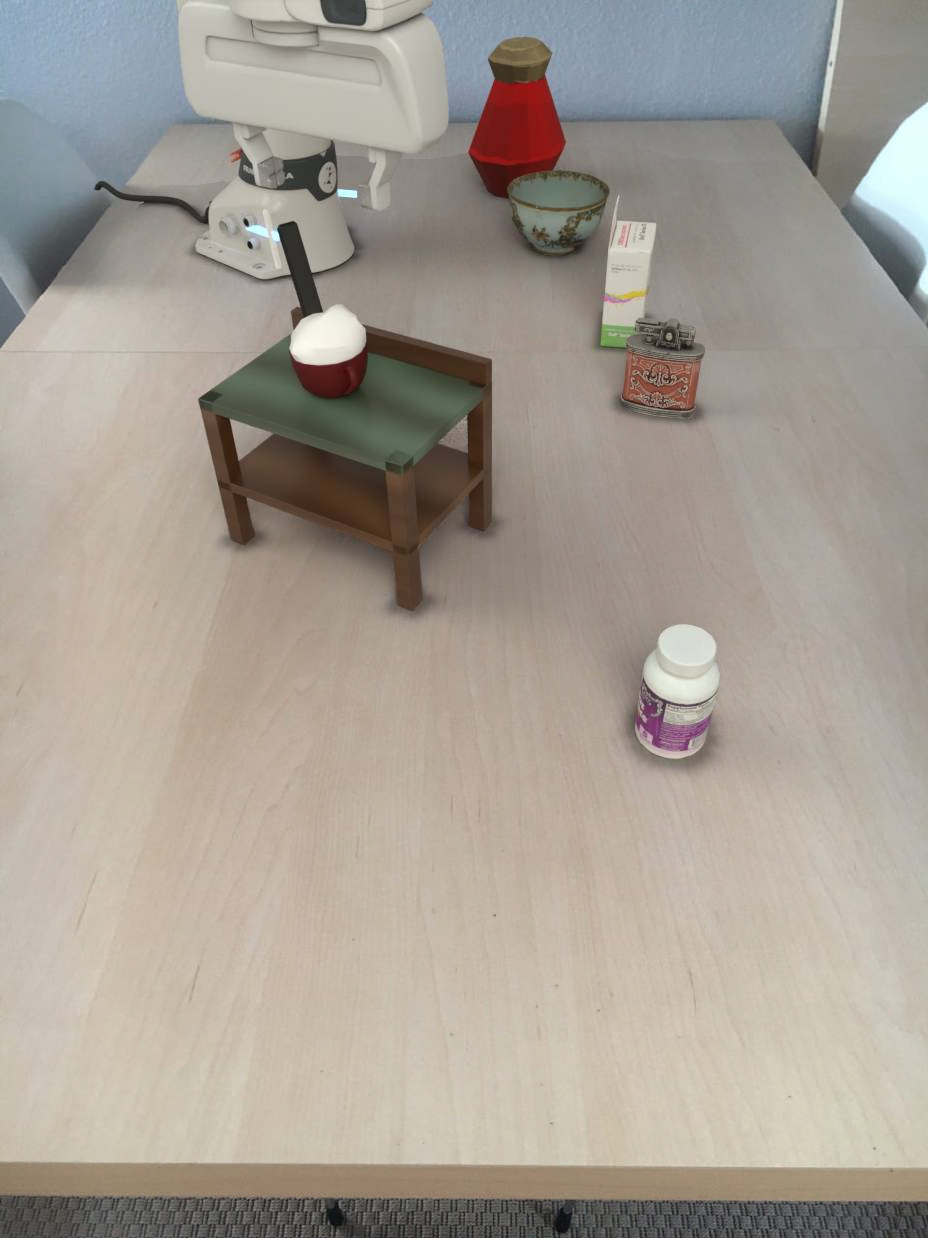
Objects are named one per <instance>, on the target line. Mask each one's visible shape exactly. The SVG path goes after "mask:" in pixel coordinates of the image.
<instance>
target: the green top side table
mask: <svg viewBox="0 0 928 1238" xmlns="http://www.w3.org/2000/svg"><path fill="white" fill-rule="evenodd" d="M290 317H291V322H292V329H293V331H294V330H295V328H296V327H297V325H298V324H299V322H300V321H301V319H303V318H304V317H303V313H302V310H301V307H300V306H296V307H294V308H293V309H291V310H290ZM361 324H362V325H363V327H364V328H365V330H366V343H367V352H368V359H367V368H366V374H365V376H364V379H363V381H362V383H361V384H360V386H359V387H358V388H356V390H355V391H354V392H353V393H351V394H348V395H345V396H342V397H338V398H322V397H319V396H315V395H313V394H312V393H310V392H308V391H307V390H306V389H304V388H303V387H302V385H301V383H300V381H299V379H298V377H297V375H296V372H295V370H294V368H293V365H292V362H291V358H290V354H289V351H290V349H289V348H290V344H291V334H292V333H293V331H292V332H291V333H290V334H288V335H286V336H285V337H284V338H282V339H281V340H280V341H278V342H276V343H275V344H274V345H272V346H271V347H270V348H268V349H267V350H265V351H264V352H263V353H260V355H258V356H256V357H255V358H254V359H253V360H251V361H250V362H248V363H247V364H245V365H244V366H242V367H241V368H239V369H238V370H236V371H235V372H234V373H232V374H231V375H229V376H228V377H227V378H225V379H223V380H222V381H221V382H220V383H218V384H217V385H215V386H214V387H212V388H211V389H210V390H208V391H207V392H205V393H204V394H202V395H201V396H199V397H198V398H197V401H198V406H199V409H200V410H199V411H200V413H201V414H200V415H201V418H202V422H203V427H204V430H205V435H206V439H207V444H208V448H209V452H210V456H211V461H212V464H213V469H214V470H213V471H214V473H215V478H216V483H217V486H218V490H219V491H218V492H219V495H220V499H221V502H222V508H223V512H224V516H225V521H226V525H227V529H228V534H229V537H230V541H233V542H236V543H238V544H240V545H243V546H244V545H247V543H248V542H249V541H250V540H252V539H253V538H254V537H255V531H254V527H253V521H252V518H251V512H250V507H249V503H248V499H249V500H252V501H255V502H258V503H260V504H263V505H266V506H269V507H271V508H274V509H277V510H279V511H282V512H285V513H288V514H290V515H293V516H295V517H299V518H301V519H304V520H307V521H308V522H309V521H310V522H312V523H314V524H317V525H320V526H323V527H326V528H329V529H331V530H334V531H336V532H339V533H341V534H345V535H347V536H349V537H353V538H355V539H358V540H361V541H364V542H365V543H369V544H372V545H374V546H377V547H380V548H383V549H386V550H388V551H390V552H392V560H393V570H394V581H395V593H396V604H397V606H398V607H401V608H404V609H406V610H409V611H411V612H414V611H415V610H416V608H418V606H419V605H420V604H421V603H422V602H423V588H422V571H421V570H422V569H421V557H420V546H421V545H422V544H423V543H424V542H425V541H426V540H427V539H428V538H429V537H430V535H432V533H433V532H434V531H435V530H436V529H438V527H439V526H440V525H441V524H442V523H443V522H444V520H446V519H447V517H449V515H451V513H453V511H454V510H455V509H456V508H457V507H458V506H459V505H460V504H461V503H462V502H463V501H464V500H465V499H466V497H468V526H469V527H470V528H473V529H476V530H479V531H482V532H484V531H485V530H486V529H488V527H489V526H490V525H491V524H492V522H493V359H492V358H489V357H486V356H483V355H479V354H474V353H471V352H467V351H464V350H460V349H456V348H452V347H450V346H449V347H448V346H446V345H441V344H438V343H434V342H430V341H427V340H423V339H419V338H415V337H412V336H408V335H404V334H400V333H397V332H393V331H389V330H386V329H383V328H378V327H375V326H371V325H367V324H363V323H361ZM465 417H466V428H467V431H466V432H467V452H466V451H464V450H463V451H462V450H459V449H457V448H453V447H450V446H446V445H444V444H440V443H439V442H440V441H441V440H443V438H444V437H445V436H447V435H448V434H449V433H450V432H451V431H452V430H453V429H454V428H455V427H456V426H457V425H458V424H459V423H460V422H462V420H463V419H464V418H465ZM231 420H233V421H236V422H239V423H242V424H244V425H248V426H250V427H252V428H253V427H254V428H256V429H259V430H263V431H265V432H268V433H272V434H271V435H270V436H268V437H267V438H266V439H264V440H263V441H262V442H261V443H259V444H258V445H257V446H256V447H254V449H252V450H250V451H249V452H248V453H247V454H245V455H244V456H243V457H242V458H240V459H239V455H238V451H237V446H236V443H235V435H234V431H233V427H232V423H231Z"/></svg>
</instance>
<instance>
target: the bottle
mask: <svg viewBox="0 0 928 1238" xmlns="http://www.w3.org/2000/svg"><path fill="white" fill-rule="evenodd" d="M552 55H553V52H552V50H551V49H550V48H549V47H548V46H547V45H546V44H545V42H543V41H542V40H541V39H539V38H536V37H530V36H518V37H510V38H507V39H504V40H502V41H500V42H499V44H497V46H496V47H495V49H493V51H492V52H491V53H490V54H489V55H488V57H487V62H488V64H489V67H490V69H491V72H492V75H493V78H494V79H493V81H492V84H491V87H490V90H489V93H488V96H487V98H486V101H485V105H484V107H483V109H482V112H481V115H480V118H479V120H478V124H477V126H476V129H475V131H474V133H473V137H472V140H471V143H470V146H469V148H468V151H467V154H468V156H469V157H470V159H471V161H472V164H473V165H474V167H475V169H476V172H477V173H478V175H479V177H480V179H481V181H482V183H483V185H484V186H485V188H486V190H487V191H488V192H489V193H490V194H492V195H493V196H494V197H499V198H505V199H509V194H508V192H507V188H508V185H509V184H510V183H511V182H512V181H513V180H514V179H516V178H518V177H521V176H523V175H526V174H530V173H536V172H542V171H554V170H555V167H556V165H557V164H558V161H559V159H560V157H561V155H562V153H563V152H564V150H565V147H566V144H567V141H566V137H565V134H564V130H563V127H562V124H561V121H560V117H559V115H558V111H557V109H556V105H555V102H554V98H553V95H552V92H551V89H550V85H549V82H548V79H547V76H546V72H547V70H548V67H549V64H550V61H551V58H552V57H553V56H552Z"/></svg>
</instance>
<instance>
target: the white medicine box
mask: <svg viewBox="0 0 928 1238" xmlns="http://www.w3.org/2000/svg"><path fill="white" fill-rule="evenodd" d="M619 201H620V194H618V195H617V198H616V201H615V207H614V211H613V215H612V220H611V229H610V235H609V240H608V241H609V242H608V248H607V261H606V273H605V284H604V295H603V307H602V319H601V328H600V329H601V331H600V343H599V345H600V347H610V348H622V349H626V342H627V338H628V337H629V336H631V335H635V334H641V335H643V333H637V332H635V331H634V330H635V321H636V320H637V319H638V318H639V317H642V318H646V313H647V307H648V298H649V292H650V283H651V275H652V267H653V260H654V252H655V244H656V233H657V223H656V222H646V221H632V220H631V221H628V220H617V216H618V207H619V203H620V202H619Z"/></svg>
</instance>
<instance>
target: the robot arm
mask: <svg viewBox="0 0 928 1238" xmlns="http://www.w3.org/2000/svg"><path fill="white" fill-rule="evenodd" d="M434 2H435V0H175V3H176V9H177V13H178V18H177V34H178V35H177V39H178V49H179V50H178V51H179V60H180V68H181V75H182V83H183V89H184V94H185V98H186V100H187V102H188V104H189V105H190V107H191V108H192V109H193V111H194V112H195V114H196V115H197V116H199V117H202V118H208V119H213V120H220V121H225V122H229V123H231V125H232V130H233V135H234V136H233V137H234V138H235V140H236V141H237V143H238V145H239V147H240V148H239V149H237V150H235V151H232V152H231V153H229V156H231V157H232V156H233V158H231V159H230V163H236V162H237V161H239V160H240V161H239V168H238V173H237V174H238V175H236V176H235V177H234V178H233V179H232V180H231V181H230V182H229V183H228V184H227V185H226V186H225V187H224V188H223V189H222V190H221V191H220V192H219V193H218V194H217V195H215V197H213V199H212V200H210V201H208V202H209V205H208V206H207V207H206V209H205V211H204V215H200V214H199V213H198V212H197V211H196V209H194V207H193V206H192V205H190V204H189V203H188V202H186V201H185V200H182V199H180V198H177V197H173V196H166V195H165V196H164V195H146V194H145V195H144V194H143V195H142V194H130V193H124V192H121V191H119V190H117V189H116V188H115V187H113V186H112V185H111V184H109V182H107V181H104V180H100V181H99V180H98V181H97V183H95V185H94V188H93V190H94V191H97V192H98V191H101V189H102V188H103V189H105V190H106V191H108V192H109V193H110V194H111V195H113V196H114V197H116V198H118V199H120V200H124V201H129V202H136V203H137V202H138V203H139V202H140V203H160V204H161V203H162V204H171V205H176V206H179V207H181V208H183V209H184V210H185V211H187V213H189V214H190V216H191V217H193V218H194V219H195V220H196V221H197V222H199V223H201V224H206V223H208V230H206V231H205V232H204V233H202V234H201V235H200V236H199V237H198V238H197V240H196V241H195V244H194V245H195V252H196V253H198V254H200V255H203V256H205V257H206V258H209V259H212V260H214V261H217V262H219V263H220V264H221V263H222V264H224V265H226V266H229V267H231V268H233V269H236V270H238V271H240V272H242V273H245V274H247V275H250V276H252V277H254V278H257V279H259V280H270V279H276V278H279V277H284V276H291V274H290V270H289V267H288V264H287V261H286V257H285V254H284V251H283V247H282V244H281V241H280V237H279V234H278V231H277V228H278V225H280V224H283V223H287V222H291V221H294V222H296V223H297V225H298V228H299V231H300V235H301V238H302V242H303V245H304V248H305V252H306V255H307V259H308V262H309V265H310V269H311V272H312V274H315V273H319V272H324V271H327V270H330V269H332V268H335V267H338V266H340V265H342V264H343V263H345V262H347V260H349V259H350V258H351V257H352V256H353V254H354V253H355V245H354V243H353V239H352V237H351V235H350V232H349V228H348V225H347V222H346V218H345V214H344V211H343V207H342V202H341V197H342V198H343V197H344V198H354V199H355V198H358V193H359V195H360V196H361V198H360V200H359V203H360V206H361V208H363V209H367V210H372V211H377V212H382V211H383V210H386V209H387V208H388V207H390V205H391V202H392V193H391V181H390V180H392V178H393V176H394V174H395V171H396V170H397V168H398V166H399V163H400V161H401V159H402V157H403V154H406V155H411V156H412V155H413V156H417V155H419V154H421V153H423V152H425V151H427V150H428V149H430V148H431V147H433V146H434V145H436V144H437V143H439V141H441V139H442V138H443V136H444V134H445V133H446V131H447V129H448V126H449V119H450V108H449V107H450V106H449V89H448V77H447V68H446V60H445V53H444V47H443V42H442V38H441V35H440V33H439V30H438V28H437V26H436V24H435V23H434V21H433V20H432V19H431V17H429V16H428V15H426V14H425V13H423V12H424V11H426V10H428V9H429V8H431V7H432V6H433V5H434ZM335 142H341V143H347V144H350V145H356V146H362V147H367V157H368V161H369V162H370V163H372V164H375V166H374V168H373V170H372V174H371V175H370V177H368V178H367V180H363V181H362V182H360V183H358V189H359V190H358V191H357V190H353V189H351V190H350V189H339V188H338V181H339V180H338V177H339V176H338V174H339V168H338V159H337V151H336V145H335Z"/></svg>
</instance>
